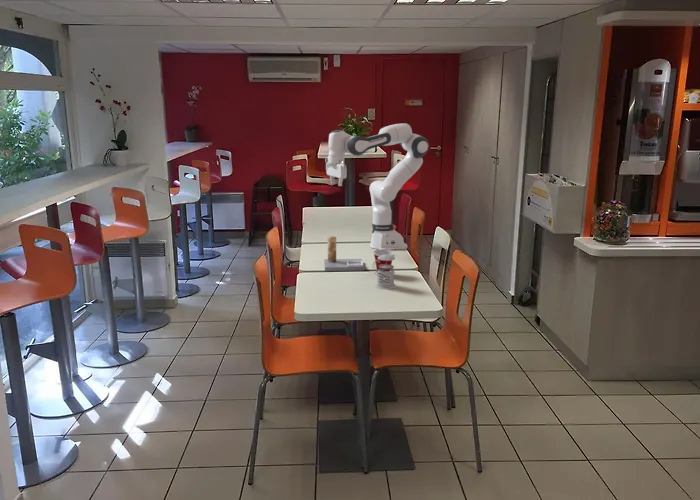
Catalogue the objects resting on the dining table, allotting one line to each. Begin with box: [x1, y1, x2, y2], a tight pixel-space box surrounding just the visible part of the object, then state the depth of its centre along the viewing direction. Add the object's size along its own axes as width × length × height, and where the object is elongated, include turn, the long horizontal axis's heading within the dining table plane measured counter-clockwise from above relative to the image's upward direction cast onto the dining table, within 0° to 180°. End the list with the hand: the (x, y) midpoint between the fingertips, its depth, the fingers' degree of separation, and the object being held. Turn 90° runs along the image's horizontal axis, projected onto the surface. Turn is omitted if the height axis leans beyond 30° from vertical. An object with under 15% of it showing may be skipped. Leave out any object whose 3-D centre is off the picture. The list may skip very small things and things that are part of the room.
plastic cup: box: [372, 249, 396, 277], centre depth 289 cm, size 11×11×12 cm
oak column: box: [327, 235, 337, 263], centre depth 307 cm, size 4×4×13 cm
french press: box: [372, 234, 397, 290], centre depth 270 cm, size 10×12×25 cm
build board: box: [323, 258, 365, 272], centre depth 305 cm, size 20×16×3 cm
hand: (336, 185), depth 326 cm, fingers open, 8 cm apart
